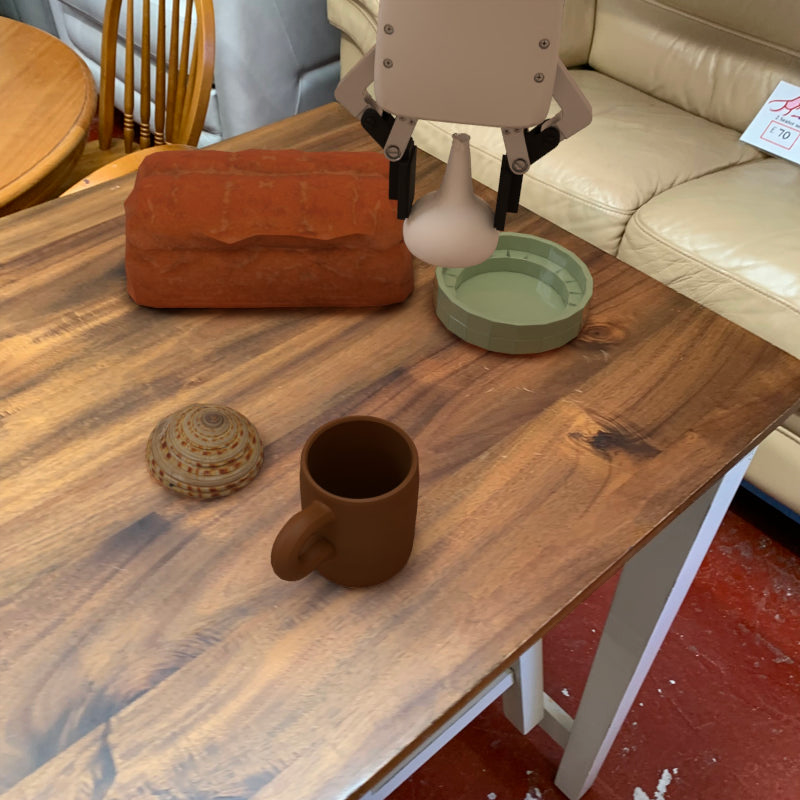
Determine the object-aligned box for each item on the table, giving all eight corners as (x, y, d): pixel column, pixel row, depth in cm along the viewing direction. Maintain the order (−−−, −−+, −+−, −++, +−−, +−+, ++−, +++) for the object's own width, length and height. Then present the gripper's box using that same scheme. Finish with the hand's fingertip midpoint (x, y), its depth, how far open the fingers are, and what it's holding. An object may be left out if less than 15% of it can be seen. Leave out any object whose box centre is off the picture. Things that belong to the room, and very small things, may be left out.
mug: (330, 664, 51) (326, 578, 45) (238, 602, 54) (222, 512, 48) (434, 536, 59) (444, 446, 52) (348, 487, 61) (347, 396, 55)
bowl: (562, 261, 84) (569, 229, 81) (603, 354, 74) (613, 320, 71) (423, 267, 82) (425, 234, 79) (446, 362, 72) (449, 328, 69)
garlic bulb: (400, 276, 53) (404, 162, 48) (404, 223, 58) (408, 114, 52) (498, 281, 53) (514, 168, 48) (494, 228, 58) (508, 119, 52)
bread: (147, 224, 85) (127, 127, 78) (405, 224, 87) (410, 129, 80) (120, 319, 74) (94, 216, 67) (416, 316, 76) (423, 216, 69)
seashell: (181, 382, 66) (256, 384, 61) (212, 437, 69) (286, 443, 64) (111, 449, 60) (188, 457, 56) (147, 506, 63) (223, 517, 59)
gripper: (651, -111, 43) (585, 199, 56) (327, -135, 44) (334, 172, 57) (662, -71, 38) (586, 262, 50) (293, -100, 39) (309, 230, 52)
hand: (452, 211), depth 53 cm, fingers closed on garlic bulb, 5 cm apart
